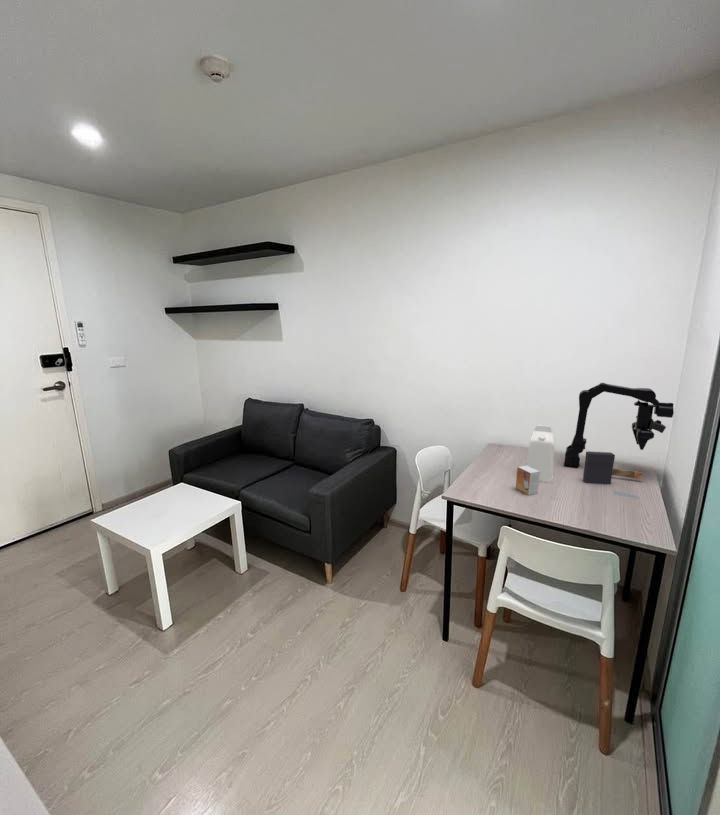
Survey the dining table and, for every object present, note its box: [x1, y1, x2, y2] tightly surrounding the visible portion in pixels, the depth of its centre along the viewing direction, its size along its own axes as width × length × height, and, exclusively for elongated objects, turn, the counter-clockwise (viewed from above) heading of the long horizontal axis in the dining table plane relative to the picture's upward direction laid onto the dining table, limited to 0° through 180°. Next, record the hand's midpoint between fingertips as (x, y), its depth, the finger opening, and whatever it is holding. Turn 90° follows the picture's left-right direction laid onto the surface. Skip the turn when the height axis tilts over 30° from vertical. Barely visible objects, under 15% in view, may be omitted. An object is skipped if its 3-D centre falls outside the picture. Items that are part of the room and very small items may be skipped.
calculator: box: [582, 451, 616, 485], centre depth 185 cm, size 11×4×15 cm, turn 80°
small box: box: [515, 465, 540, 496], centre depth 178 cm, size 8×6×10 cm
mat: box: [612, 490, 640, 499], centre depth 177 cm, size 9×13×1 cm
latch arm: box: [612, 468, 644, 480], centre depth 191 cm, size 23×2×5 cm, turn 63°
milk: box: [526, 424, 556, 484], centre depth 192 cm, size 12×12×26 cm
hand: (639, 446), depth 191 cm, fingers open, 9 cm apart
